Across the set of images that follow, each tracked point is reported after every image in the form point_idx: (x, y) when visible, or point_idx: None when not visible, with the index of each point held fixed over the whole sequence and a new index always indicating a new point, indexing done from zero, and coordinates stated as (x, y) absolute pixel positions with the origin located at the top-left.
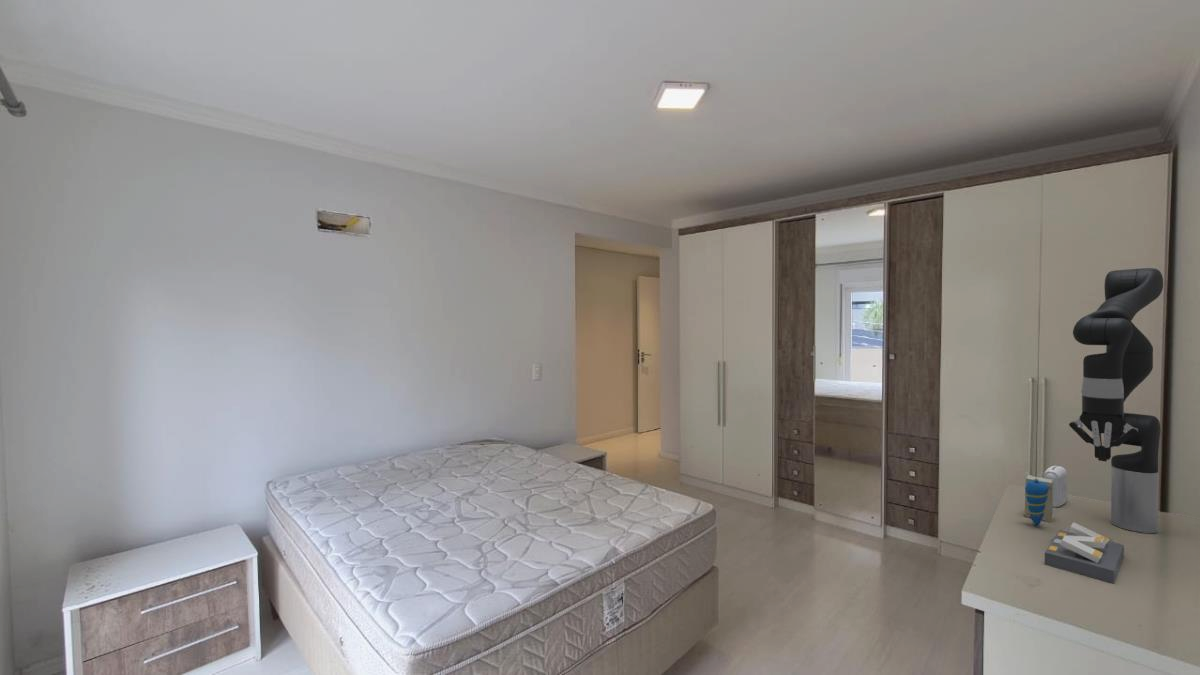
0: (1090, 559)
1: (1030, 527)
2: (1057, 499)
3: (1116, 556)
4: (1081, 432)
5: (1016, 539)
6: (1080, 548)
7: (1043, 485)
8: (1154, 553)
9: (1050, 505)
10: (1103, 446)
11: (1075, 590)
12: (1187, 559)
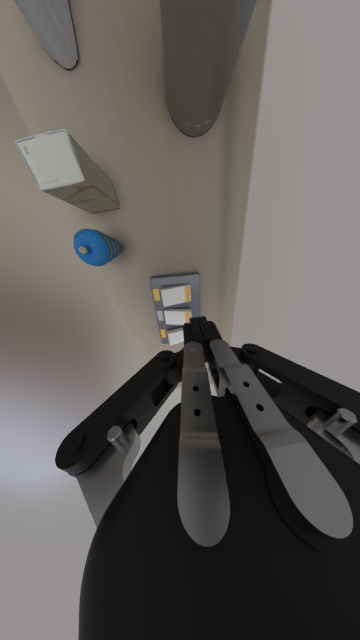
0: None
1: (118, 257)
2: (65, 39)
3: (198, 312)
4: (148, 415)
5: (130, 306)
6: (181, 341)
7: (101, 256)
8: (218, 233)
9: (107, 199)
10: (207, 361)
11: None
12: (242, 223)
